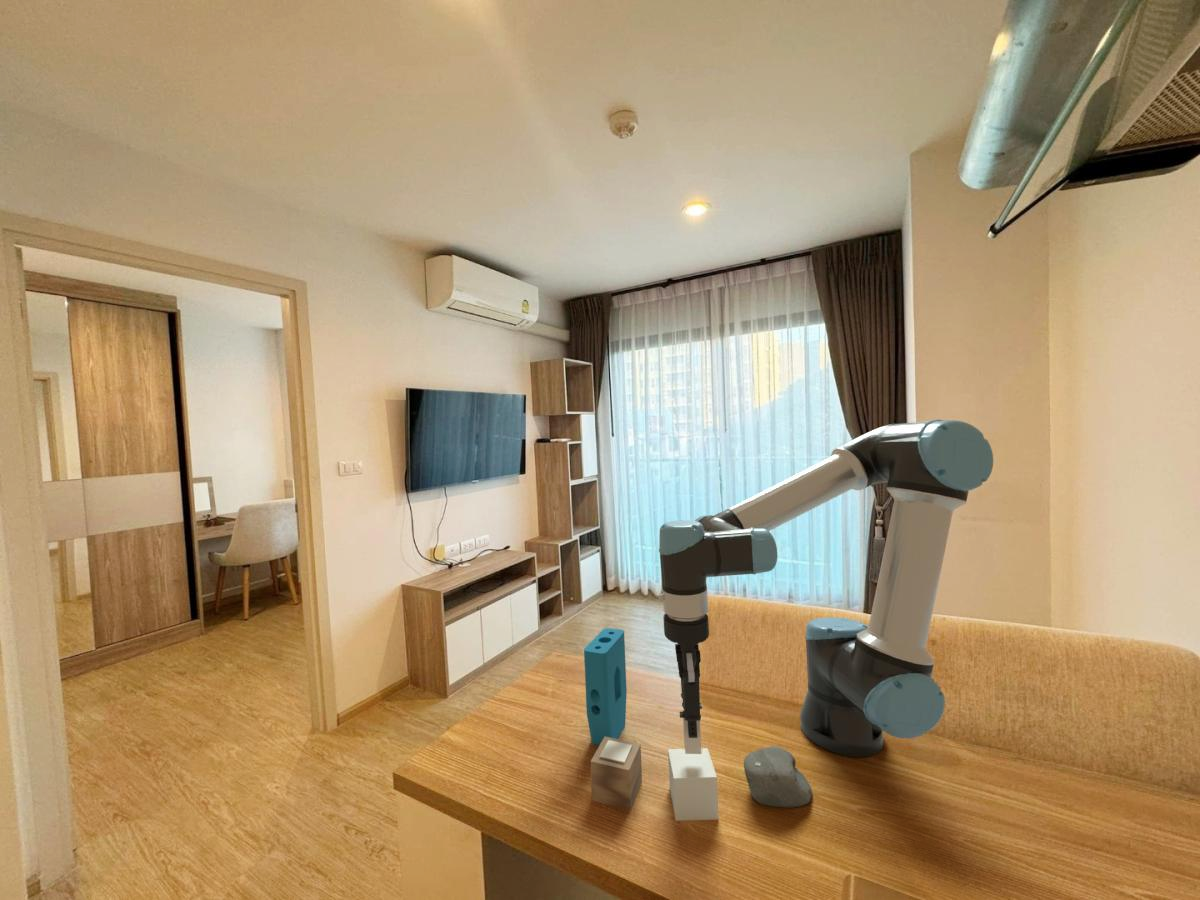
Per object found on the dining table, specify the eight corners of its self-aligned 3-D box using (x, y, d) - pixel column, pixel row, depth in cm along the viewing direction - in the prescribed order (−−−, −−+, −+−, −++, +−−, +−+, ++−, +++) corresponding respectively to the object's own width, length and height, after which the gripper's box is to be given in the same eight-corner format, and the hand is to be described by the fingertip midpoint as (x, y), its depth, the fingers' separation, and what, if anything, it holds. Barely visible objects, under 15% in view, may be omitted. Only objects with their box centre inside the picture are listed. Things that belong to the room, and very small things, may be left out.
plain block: (709, 787, 80) (707, 748, 80) (718, 819, 73) (716, 777, 73) (669, 788, 80) (668, 749, 80) (675, 821, 73) (673, 778, 73)
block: (609, 753, 90) (605, 654, 90) (586, 748, 92) (582, 650, 92) (629, 719, 101) (625, 630, 101) (608, 714, 103) (604, 627, 103)
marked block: (642, 781, 82) (640, 742, 82) (630, 811, 76) (629, 768, 76) (606, 773, 85) (604, 734, 85) (592, 801, 78) (590, 759, 78)
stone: (822, 818, 72) (790, 760, 73) (771, 837, 74) (740, 780, 75) (808, 777, 81) (779, 726, 82) (763, 795, 83) (735, 745, 84)
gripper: (661, 600, 83) (669, 726, 84) (664, 629, 70) (672, 778, 71) (703, 599, 83) (710, 727, 83) (713, 628, 70) (721, 780, 70)
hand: (693, 750), depth 77 cm, fingers closed
